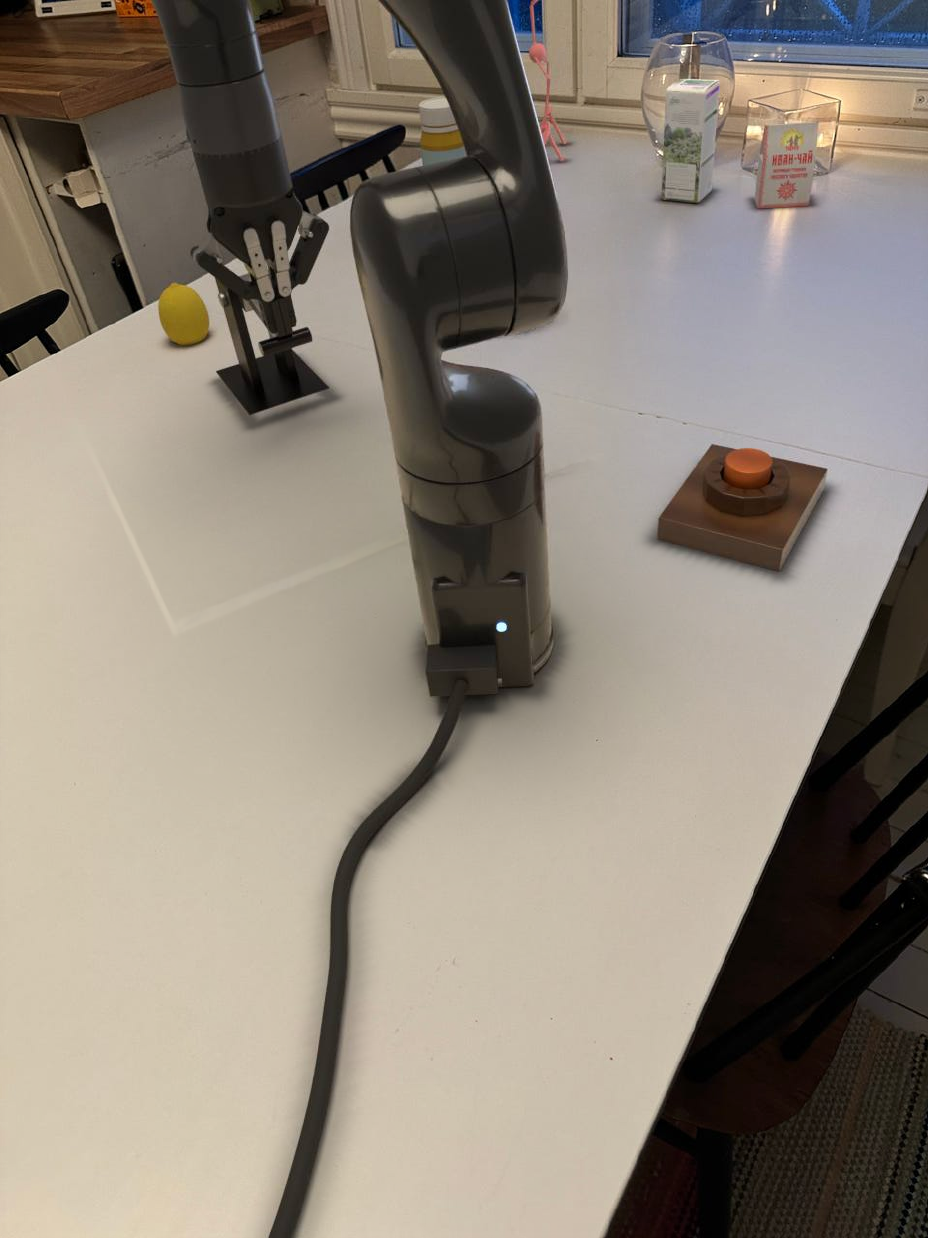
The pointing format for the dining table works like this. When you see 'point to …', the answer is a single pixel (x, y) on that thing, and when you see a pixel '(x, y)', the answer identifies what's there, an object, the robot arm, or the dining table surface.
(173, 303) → the lemon
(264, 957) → the dining table surface
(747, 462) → the button
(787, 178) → the tea box
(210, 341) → the dining table surface
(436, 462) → the robot arm
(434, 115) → the bottle
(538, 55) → the figurine
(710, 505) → the button box
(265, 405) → the bracket
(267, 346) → the lever
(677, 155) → the syrup box
